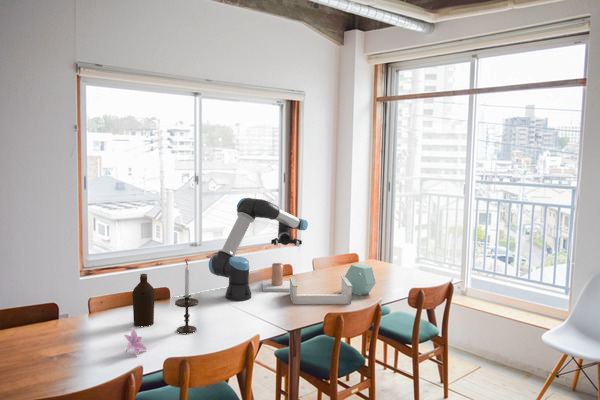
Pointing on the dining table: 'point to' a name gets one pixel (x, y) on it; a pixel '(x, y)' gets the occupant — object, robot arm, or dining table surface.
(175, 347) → the dining table surface
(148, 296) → the olive oil
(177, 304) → the candlestick
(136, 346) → the lily
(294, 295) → the grey u-shaped bracket
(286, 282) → the potting board
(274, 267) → the pot
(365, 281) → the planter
